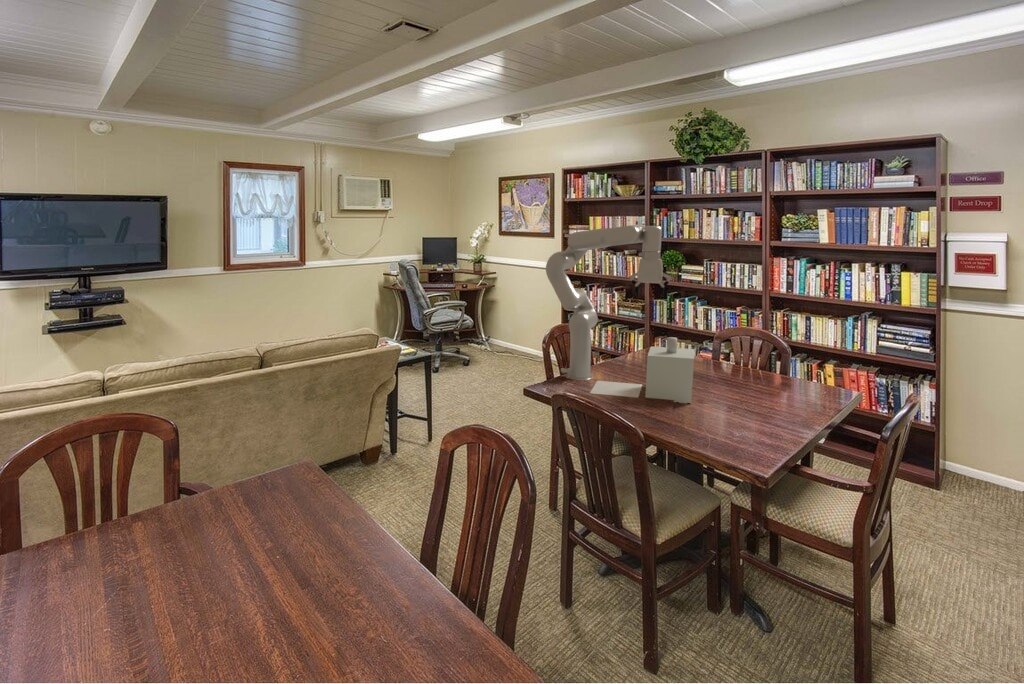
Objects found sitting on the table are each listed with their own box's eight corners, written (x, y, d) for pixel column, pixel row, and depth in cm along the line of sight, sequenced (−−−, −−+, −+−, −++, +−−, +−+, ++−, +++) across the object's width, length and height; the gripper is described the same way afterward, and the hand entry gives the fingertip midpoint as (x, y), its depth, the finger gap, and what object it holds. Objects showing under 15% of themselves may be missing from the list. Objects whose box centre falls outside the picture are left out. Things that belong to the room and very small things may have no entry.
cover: (645, 399, 233) (648, 341, 228) (648, 387, 250) (651, 332, 245) (691, 403, 228) (695, 343, 223) (691, 391, 245) (695, 335, 240)
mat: (589, 395, 239) (589, 393, 239) (597, 382, 258) (597, 380, 258) (638, 399, 233) (638, 397, 233) (642, 386, 252) (642, 384, 252)
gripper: (629, 255, 239) (627, 296, 242) (672, 256, 234) (669, 298, 237) (631, 254, 246) (629, 294, 249) (672, 255, 241) (670, 295, 244)
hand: (649, 296), depth 243 cm, fingers open, 9 cm apart
